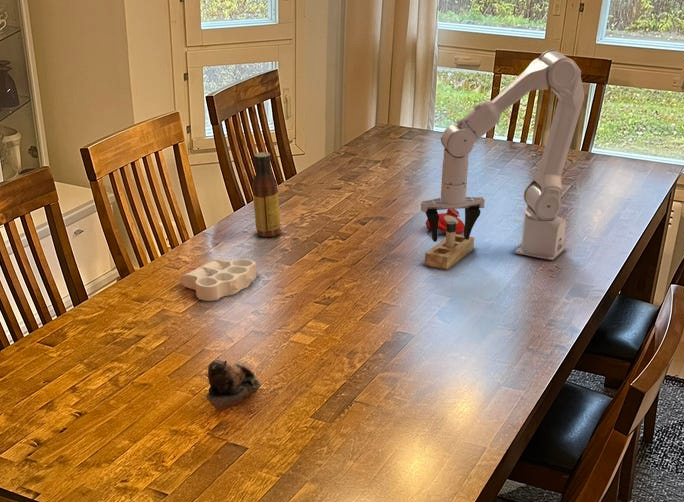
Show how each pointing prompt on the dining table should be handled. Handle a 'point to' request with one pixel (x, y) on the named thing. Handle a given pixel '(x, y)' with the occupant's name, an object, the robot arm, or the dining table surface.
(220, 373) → the bison figurine
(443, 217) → the red curved piece
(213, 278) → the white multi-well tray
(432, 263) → the pen block
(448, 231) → the marker
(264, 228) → the sauce bottle
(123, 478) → the dining table surface
